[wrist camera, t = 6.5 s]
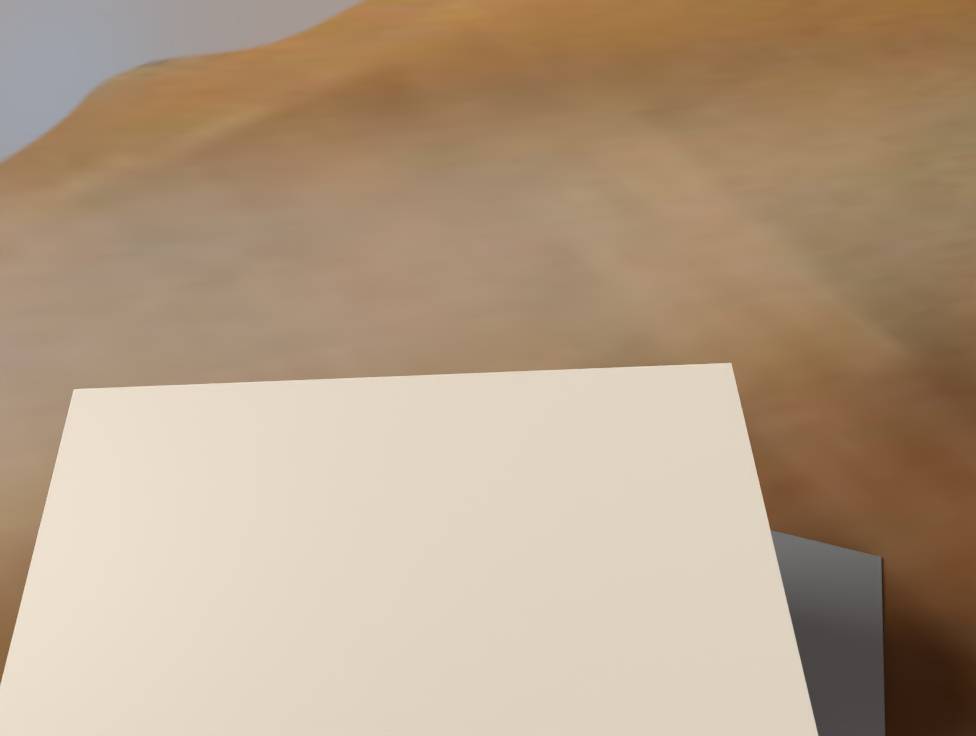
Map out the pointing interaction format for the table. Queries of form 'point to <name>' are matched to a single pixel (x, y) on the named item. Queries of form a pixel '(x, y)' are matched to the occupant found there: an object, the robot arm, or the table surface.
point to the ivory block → (408, 562)
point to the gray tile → (836, 632)
